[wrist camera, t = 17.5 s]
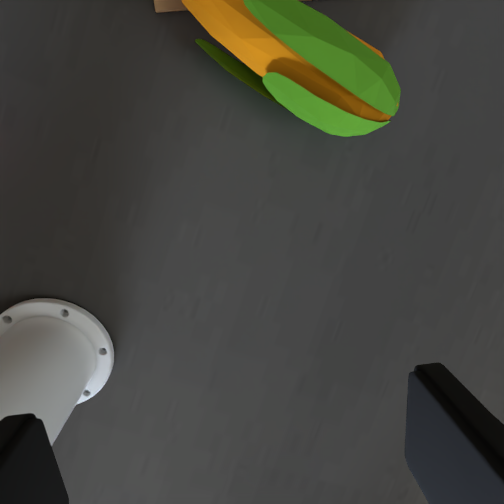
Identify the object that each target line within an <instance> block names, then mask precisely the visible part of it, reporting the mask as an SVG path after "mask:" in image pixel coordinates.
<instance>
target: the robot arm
mask: <svg viewBox="0 0 504 504" xmlns="http://www.w3.org/2000/svg"><path fill="white" fill-rule="evenodd" d="M113 364H114V349H113V344H112V341H111V339H110V336H109V334H108V332H107V331H106V329H105V328H104V326H103V325H102V324H101V323H100V322H99V321H98V320H97V319H96V318H95V317H94V316H93V315H92V314H90V313H89V312H88V311H86V310H85V309H83V308H81V307H79V306H77V305H75V304H73V303H70V302H66V301H63V300H58V299H51V298H36V299H31V300H26V301H23V302H20V303H18V304H15V305H13V306H12V307H10V308H9V309H7V310H6V311H4V312H3V313H2V314H1V315H0V504H69V498H68V494H67V491H66V488H65V485H64V483H63V480H62V477H61V474H60V471H59V468H58V465H57V462H56V459H55V456H54V453H53V450H52V447H51V446H52V445H53V443H54V441H55V439H56V438H57V436H58V434H59V433H60V431H61V429H62V427H63V426H64V424H65V422H66V421H67V419H68V417H69V415H70V414H71V412H72V410H73V409H74V407H75V405H76V404H79V403H81V402H84V401H86V400H88V399H89V398H91V397H93V396H94V395H95V394H96V393H97V392H98V391H100V390H101V389H102V387H103V386H104V384H105V383H106V381H107V380H108V378H109V376H110V374H111V371H112V368H113ZM405 458H406V461H407V464H408V467H409V469H410V471H411V472H412V474H413V476H414V478H415V479H416V481H417V483H418V485H419V487H420V488H421V490H422V492H423V494H424V495H425V497H426V499H427V501H428V502H429V504H504V425H503V424H502V423H501V422H500V421H499V420H498V419H497V418H496V417H494V416H493V415H492V414H491V413H490V412H489V411H488V410H487V409H486V408H485V407H484V406H483V405H482V404H481V403H480V402H479V401H478V400H477V399H476V398H475V397H474V396H473V395H472V394H471V393H470V392H469V391H468V390H467V389H466V388H465V387H464V386H463V384H462V383H461V382H460V381H459V380H458V379H457V378H456V377H455V376H454V375H453V374H452V373H451V372H450V371H449V370H448V369H447V368H446V367H445V366H444V365H442V364H441V363H431V364H423V365H417V366H416V367H415V369H414V372H410V373H409V379H408V398H407V417H406V436H405Z"/></svg>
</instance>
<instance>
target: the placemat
mask: <svg viewBox="0 0 504 504" xmlns="http://www.w3.org/2000/svg"><path fill="white" fill-rule="evenodd" d="M298 1H310V0H298ZM154 5H155V11H156V13H160V12H172V11H185V10H188V9H187V8H186V6H185V5H184V4H183V3H182V1H181V0H154Z"/></svg>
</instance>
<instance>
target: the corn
mask: <svg viewBox="0 0 504 504" xmlns="http://www.w3.org/2000/svg"><path fill="white" fill-rule="evenodd" d="M181 1H182V3H183V4H184V5H185V6H186V8H187V9H188V10H189V11H190V12H191V13H192V14H193V15H194V17H195V18H196V19H197V20H198V21H199V22H200V23H201V25H202V26H203V27H204V28H205V29H206V30H207V31H208V32H209V34H210V35H211V36H212V37H214V38H215V39H216V40H217V41H218V42H220V43H221V44H222V45H223V46H224V47H226V48H227V49H228V50H229V51H230V52H232V53H233V54H234V55H235V56H236V57H238V58H239V59H240V60H241V61H242V62H244V63H245V64H246V65H247V66H248V67H247V66H246V65H244V64H242V63H241V62H239V61H237V60H236V59H234V58H232V57H231V56H229V55H228V54H226V53H225V52H223V51H222V50H220V49H219V48H217V47H215V46H214V45H212V44H210V43H209V42H207V41H205V40H203V39H196V40H195V42H196V43H197V44H198V45H199V46H200V47H201V48H202V49H203V50H204V51H205V52H206V53H207V54H208V55H210V56H211V57H212V58H213V59H214V60H215V61H216V62H217V63H219V64H220V65H221V66H222V67H223V68H224V69H225V70H226V71H228V72H229V73H231V74H232V75H234V76H235V77H237V78H238V79H240V80H241V81H243V82H244V83H246V84H247V85H248V86H250V87H251V88H253V89H254V90H256V91H257V92H259V93H260V94H262V95H263V96H265V97H267V98H268V99H270V100H272V101H274V102H275V103H277V104H279V105H281V106H282V107H284V108H286V109H288V110H289V111H291V112H292V113H293V114H295V115H296V116H297V117H298V118H300V119H302V120H304V121H306V122H308V123H310V124H311V125H313V126H315V127H317V128H319V129H321V130H323V131H324V132H326V133H328V134H333V135H339V136H345V137H347V136H356V135H365V134H367V133H369V132H372V131H374V130H376V129H378V128H380V127H382V126H384V125H386V124H387V123H389V122H390V121H391V120H389V118H390V117H391V116H394V115H395V113H396V112H397V110H398V108H399V100H400V92H401V89H400V87H399V84H398V82H397V80H396V77H395V75H394V73H393V70H392V68H391V65H390V64H389V63H388V62H387V61H386V60H385V59H384V57H383V55H382V53H381V52H380V51H379V50H377V49H375V48H374V47H372V46H371V45H369V44H367V43H366V42H364V41H362V40H361V39H359V38H358V37H356V36H354V35H353V34H351V33H350V32H348V31H346V30H345V29H343V28H342V27H341V26H339V25H338V24H337V23H335V22H334V21H333V20H331V19H330V18H329V17H327V16H325V15H323V14H322V13H320V12H318V11H316V10H314V9H312V8H311V7H309V6H307V5H305V4H303V3H301V2H300V1H298V0H181ZM249 67H250V68H249ZM388 120H389V121H388Z"/></svg>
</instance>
